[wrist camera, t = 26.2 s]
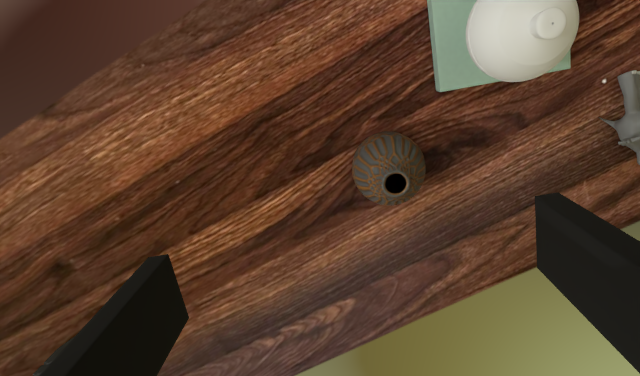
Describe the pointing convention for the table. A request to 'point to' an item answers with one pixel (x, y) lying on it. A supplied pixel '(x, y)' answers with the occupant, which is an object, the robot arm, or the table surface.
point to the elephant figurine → (629, 112)
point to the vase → (388, 168)
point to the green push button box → (458, 47)
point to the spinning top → (520, 36)
